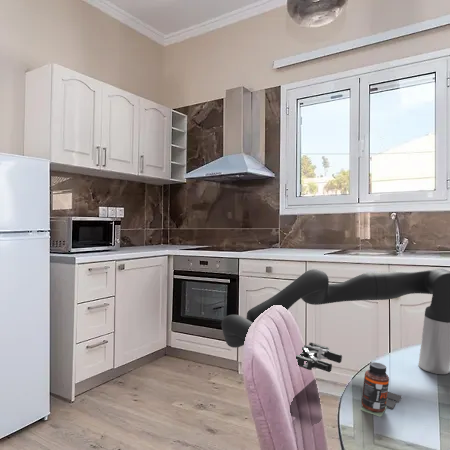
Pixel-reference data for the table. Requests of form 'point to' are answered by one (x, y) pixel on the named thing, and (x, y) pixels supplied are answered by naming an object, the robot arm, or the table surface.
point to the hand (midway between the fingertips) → (336, 363)
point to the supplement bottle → (375, 388)
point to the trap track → (390, 403)
